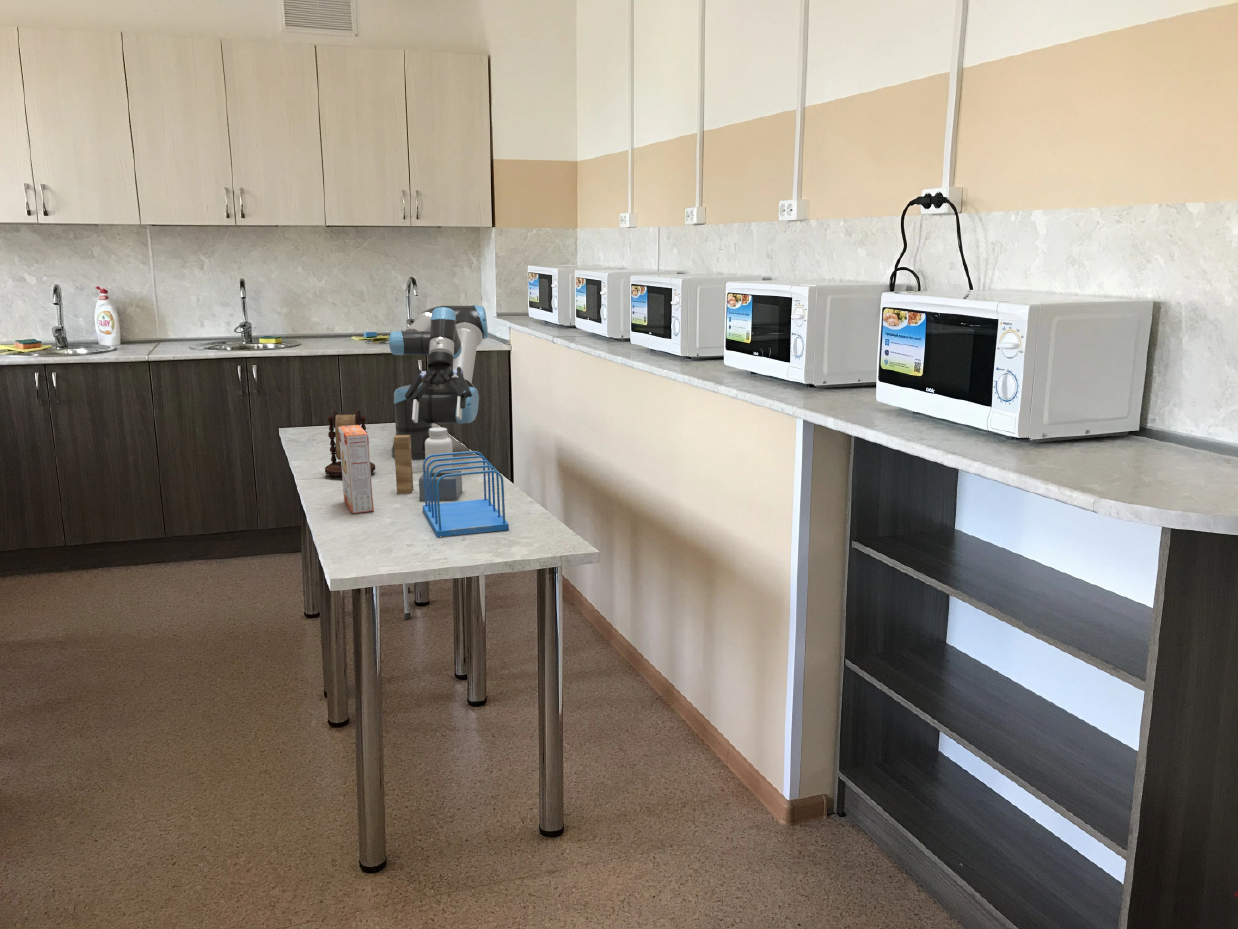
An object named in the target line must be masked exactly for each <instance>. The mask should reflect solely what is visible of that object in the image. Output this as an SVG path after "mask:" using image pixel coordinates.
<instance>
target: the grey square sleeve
mask: <svg viewBox="0 0 1238 929" xmlns="http://www.w3.org/2000/svg"><path fill="white" fill-rule="evenodd" d="M436 472H437V471H432V491H433V477H434V475H435V473H436ZM425 473H426V470H425ZM429 473H430V471H429ZM455 473H463V472H462V470H453V471H443V472H440V473H439V474H438V475H437V476H436V479H435V485H436V484H437V481H438V479H439V478H440V477H441V476H443V475H446V474H455ZM426 489H427V477H426ZM418 490H419V491H418V493H419V494H418V495H419V501H420V502H421V501H422V502H425V491H424V475H423V474H422V475H421V476H420V477H419V478H418ZM429 490H430V478H429ZM462 493H463V475H460V476H450V477H445V478H443V479H442V480H441V481H440V482H439V502H441V501H442V502H443V501H446V502H451V501H452V502H458V499H459V498H460V496H461V494H462ZM427 502H428V494H427ZM430 502H431V495H430ZM433 502H434V491H433ZM436 502H437V491H436Z"/></svg>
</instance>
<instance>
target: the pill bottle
mask: <svg viewBox="0 0 1238 929" xmlns="http://www.w3.org/2000/svg"><path fill="white" fill-rule="evenodd" d="M429 436H430V438H428V439H426V441H425V458H424V460H425V459H426V458H427V457H428V456H429V455H433V454H443V453H454V452H453V441H452V438H450V437H448V428H446V427H443V426H442V427H440V426H438V427H432V428H430V429H429ZM452 457H454V455H446V456H436V457H431V458H429V459H428V460H427V461H426V463H425V469H426V468H427V465H428V463H429V462H430V461H432V460H434V459H441V458H452ZM443 463H454V460H445V461H436V462H433V463H432V464H431V465H430V466H429V471H430V470H431V469H432V467H433V466H435V465H437V464H443ZM447 468H454V465H448V466H439V467H436V468H435V469H434V470H433V471H439V470H441V469H447ZM452 471H454V470H452Z"/></svg>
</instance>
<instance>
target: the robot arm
mask: <svg viewBox="0 0 1238 929" xmlns="http://www.w3.org/2000/svg"><path fill="white" fill-rule="evenodd" d="M487 338H489V331H488V322H487V313H486V309H485V307H484V306H483V305H475V304H472V305H439V306H435V307H431V308H429V309H426V310H424V311H422V312H420V313H419V314H418V315H417V316H416V317H415V318H414V319H413V323H411V324H410V325H409V326H408V327H407V328H405V330H398V331H392V332H390V333H389V337H388V345H389V351H390V353H391V355H394V356H428V357H427V358H428V359H427V369H426V370H421V369H417V371H416V375H415V377H414V378H413V381H412V382H411V384H408V385H404V386H400V387H398V388H396V389H395V390H394V392H393V405H394V407H393V408H394V421H395V422H394V424H395V435H410V437H411V455H412V460H422V459H424V460H425V441H426V439H428V438H430V436H429V429H430V428H433V425H432V424H461V425H462V424H471V423H473V422H474V421H475V419H476V418H477V415H478V413H479V412H478V410H479V405H480V404H479V402H480V396H479V391H478V389H477V388H476V387H475V386H474V384H473V383H472V382H473V375H474V369H475V361H476V355H477V348H478V346H480V344H482V341H483V340H485V339H487ZM425 377H426V378H425ZM423 379H424V382H423ZM434 385H435V386H439V387H432V386H434ZM391 446H392V447H391V457H392V458H394V459H395V451H394V441H393V443H392V445H391Z"/></svg>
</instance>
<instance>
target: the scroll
mask: <svg viewBox="0 0 1238 929" xmlns="http://www.w3.org/2000/svg"><path fill="white" fill-rule="evenodd" d="M366 421H367V417H366V416H365V415H363V414H362V415H361V411H360V409H359V408H357V409H356V410H355V414H338V410H337V409H334V410H333V412H332V415H329V416H328V417H327V422H328V423H327V424H328V425H329V427H328V430H329V431H328V433H327V434H328V435H327V436H328V437H329V440H330V442H329V446H330V447H329V452H330V455H331V458H330V461H331V463H329V464H328V465H326V466H325V467H324V473H325V474H326V475H328V477H329V479H330V480H331V479H333V476H336V477H337V476H339V477H340V476H341V477H342V466H341V454H340V442H339V430H338V427H340V426H351V425H360V427H361V428H362V429H363V430H364V431H365V432H366V433H367V434H368V431H367V427H366ZM334 430H335V431H334ZM337 460H338V461H337ZM370 468H371V473H372V472H374V471H375V470H376V468H377V467H376V464H375V463H373V462H372V461H370Z"/></svg>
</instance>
